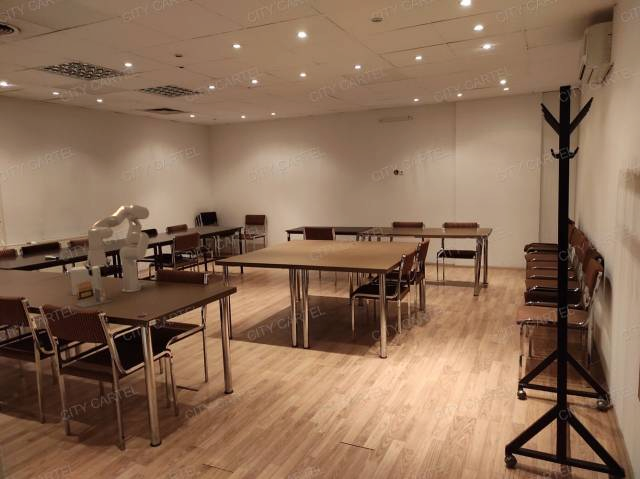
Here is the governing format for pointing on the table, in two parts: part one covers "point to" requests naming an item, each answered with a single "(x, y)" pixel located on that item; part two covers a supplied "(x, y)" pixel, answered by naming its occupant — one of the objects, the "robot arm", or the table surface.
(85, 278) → the supplement box
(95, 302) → the rubber mat
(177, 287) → the table surface
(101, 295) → the birch tile
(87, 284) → the ammunition clip
